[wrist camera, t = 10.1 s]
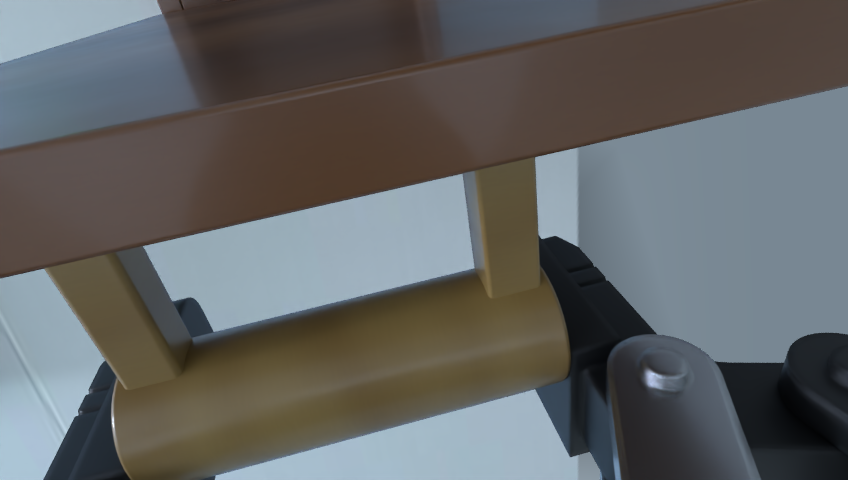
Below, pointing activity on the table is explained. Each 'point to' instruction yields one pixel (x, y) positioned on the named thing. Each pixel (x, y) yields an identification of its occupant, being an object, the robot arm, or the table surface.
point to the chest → (185, 4)
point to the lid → (349, 188)
